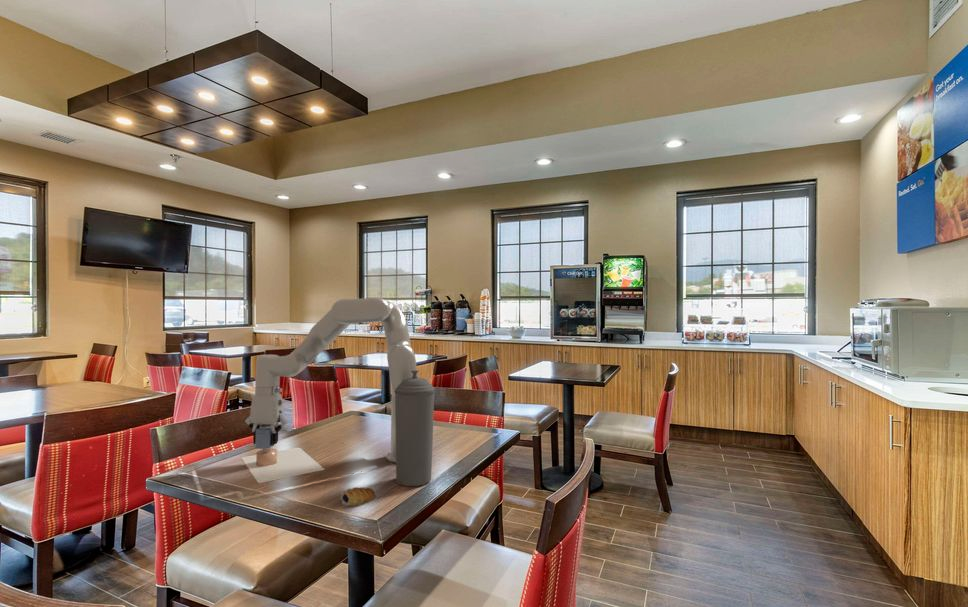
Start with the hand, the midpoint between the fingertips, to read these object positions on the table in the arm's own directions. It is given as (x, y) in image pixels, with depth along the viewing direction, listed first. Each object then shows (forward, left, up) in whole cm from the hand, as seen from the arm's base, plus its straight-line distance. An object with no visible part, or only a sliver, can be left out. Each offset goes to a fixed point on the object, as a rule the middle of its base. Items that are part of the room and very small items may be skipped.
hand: (265, 443), depth 152 cm
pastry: (-46, -14, -8) cm, 49 cm away
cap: (0, 0, -1) cm, 1 cm away
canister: (-42, -34, -8) cm, 55 cm away
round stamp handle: (0, 0, -7) cm, 7 cm away
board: (-3, -4, -8) cm, 10 cm away
